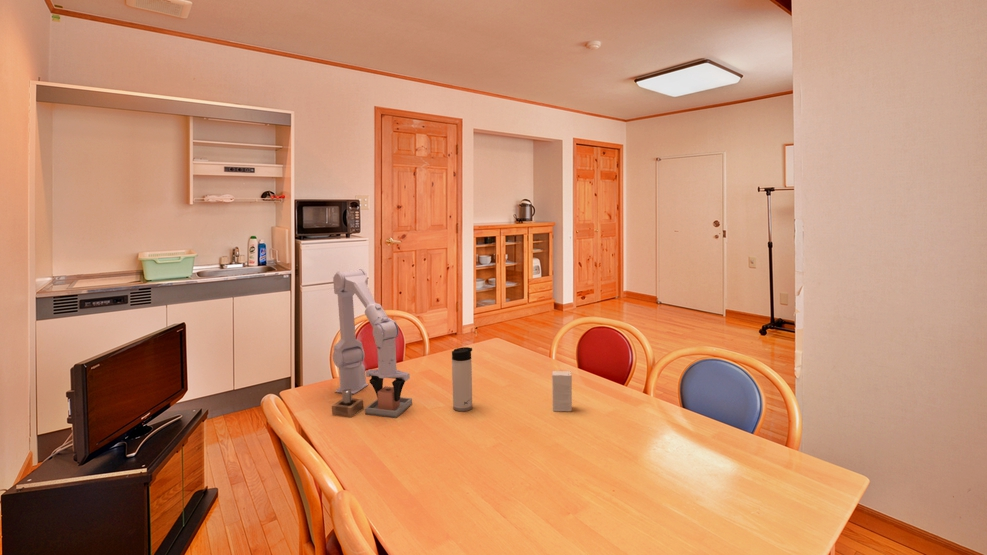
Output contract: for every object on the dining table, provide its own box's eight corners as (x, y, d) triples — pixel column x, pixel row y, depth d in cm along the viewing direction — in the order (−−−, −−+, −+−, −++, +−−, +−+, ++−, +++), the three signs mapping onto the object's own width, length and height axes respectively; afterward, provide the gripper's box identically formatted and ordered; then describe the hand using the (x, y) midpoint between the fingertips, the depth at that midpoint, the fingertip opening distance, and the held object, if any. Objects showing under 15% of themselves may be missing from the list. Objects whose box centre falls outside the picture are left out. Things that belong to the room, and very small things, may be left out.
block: (386, 403, 158) (385, 385, 157) (399, 405, 156) (398, 387, 156) (378, 409, 153) (377, 391, 152) (392, 411, 152) (391, 392, 151)
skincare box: (570, 406, 155) (571, 370, 153) (571, 412, 151) (572, 375, 149) (552, 406, 155) (552, 370, 154) (552, 411, 151) (552, 375, 150)
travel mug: (470, 412, 151) (469, 351, 149) (450, 411, 153) (449, 350, 150) (475, 404, 157) (474, 345, 155) (456, 403, 159) (454, 345, 156)
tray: (382, 400, 162) (382, 395, 161) (412, 404, 158) (412, 398, 158) (365, 414, 151) (364, 408, 151) (396, 417, 148) (396, 411, 148)
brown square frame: (345, 406, 158) (344, 397, 157) (363, 408, 156) (363, 399, 155) (332, 414, 151) (331, 405, 151) (351, 417, 149) (351, 408, 149)
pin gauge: (346, 409, 155) (345, 388, 154) (354, 410, 154) (353, 389, 153) (341, 412, 152) (340, 392, 151) (349, 413, 152) (348, 392, 151)
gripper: (360, 360, 151) (362, 401, 153) (401, 364, 147) (403, 406, 149) (371, 354, 157) (373, 393, 159) (411, 357, 153) (413, 397, 155)
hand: (388, 399), depth 154 cm, fingers open, 6 cm apart
